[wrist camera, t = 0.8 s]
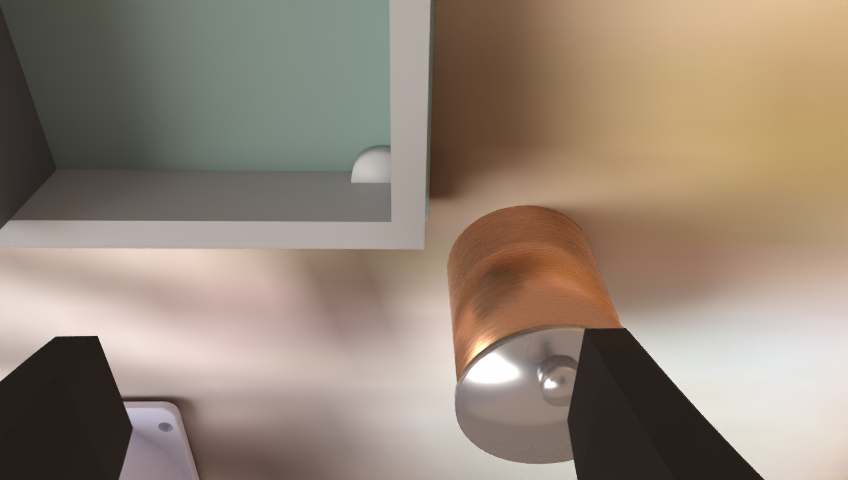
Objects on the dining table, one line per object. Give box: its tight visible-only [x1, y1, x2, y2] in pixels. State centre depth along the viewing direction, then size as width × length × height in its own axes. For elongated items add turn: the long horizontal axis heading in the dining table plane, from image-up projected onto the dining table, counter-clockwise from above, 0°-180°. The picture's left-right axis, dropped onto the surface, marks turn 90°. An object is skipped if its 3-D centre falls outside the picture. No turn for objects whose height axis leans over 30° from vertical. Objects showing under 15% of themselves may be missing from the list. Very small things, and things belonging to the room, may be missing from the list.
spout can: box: [447, 206, 622, 464], centre depth 18 cm, size 5×5×6 cm
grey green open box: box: [0, 0, 435, 249], centre depth 14 cm, size 10×11×5 cm
